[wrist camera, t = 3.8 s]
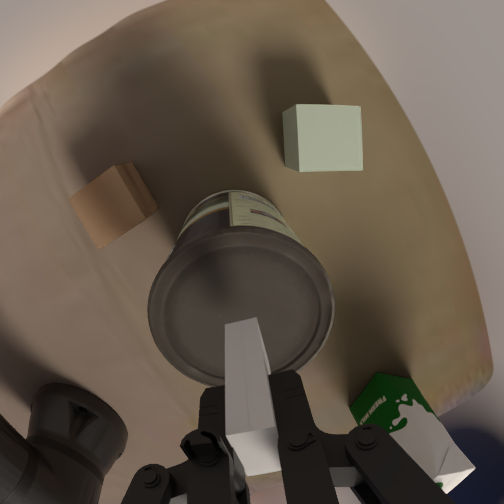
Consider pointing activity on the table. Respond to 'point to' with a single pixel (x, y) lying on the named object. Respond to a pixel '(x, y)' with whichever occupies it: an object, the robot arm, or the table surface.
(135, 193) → the brown wooden cube
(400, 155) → the table surface
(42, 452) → the robot arm
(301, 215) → the table surface
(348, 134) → the sage block
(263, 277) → the coffee can
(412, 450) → the milk carton
